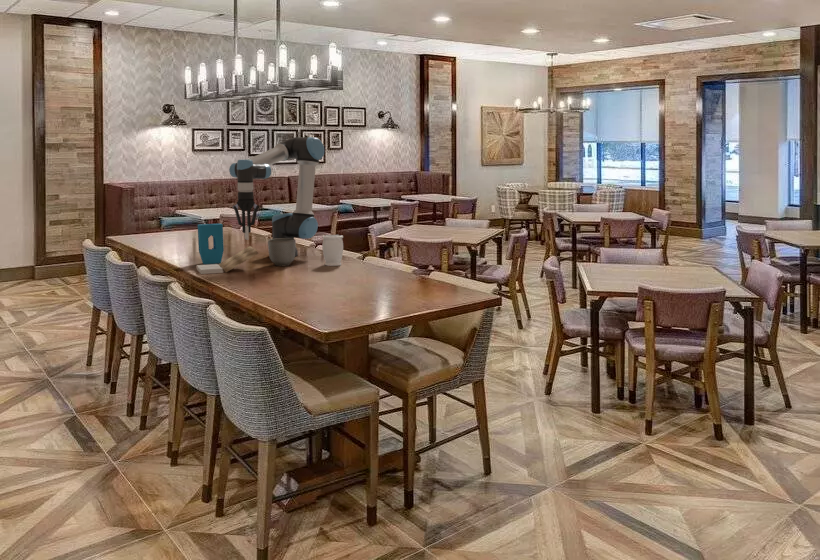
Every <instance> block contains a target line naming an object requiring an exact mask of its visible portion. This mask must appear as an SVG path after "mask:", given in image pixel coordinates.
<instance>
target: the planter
mask: <svg viewBox="0 0 820 560" xmlns="http://www.w3.org/2000/svg"><path fill="white" fill-rule="evenodd" d="M296 242H297V241H296V238H294V239H290V238H276V239H273V238H270V239H268V240H267V247H268V255H269V259H270V261H271V262H272V263H273V264H274V266H276V267H288V266H290V265H291V263H293V261H294V260H295V257H296V256H295V247H296V248H297V246H296V245H297V244H296Z"/></svg>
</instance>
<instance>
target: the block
mask: <svg viewBox="0 0 820 560" xmlns="http://www.w3.org/2000/svg"><path fill="white" fill-rule="evenodd" d="M210 237H212V242H213V244H212V245H213V246H212V248H210V247H209V239H210ZM197 241H198V242H197V243H198V253H199V256H200V258H201V259H200V260H201V262H202V265H211V264H218V265H219V264H220V263H222V259H223V255H224V251H225V250H224V249H225V248H224V246H225V245H224V224H222V223H205V224H204V223H202V224H201V223H200V224H197Z"/></svg>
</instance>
